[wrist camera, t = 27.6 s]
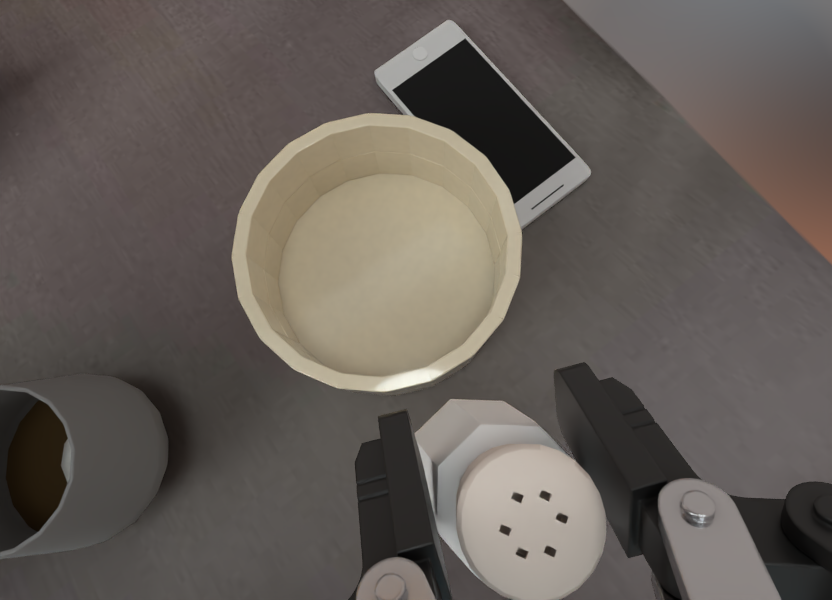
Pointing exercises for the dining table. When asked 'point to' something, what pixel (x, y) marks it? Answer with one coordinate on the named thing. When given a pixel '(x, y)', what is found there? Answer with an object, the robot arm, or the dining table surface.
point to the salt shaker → (511, 500)
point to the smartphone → (484, 116)
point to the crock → (377, 253)
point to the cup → (75, 462)
